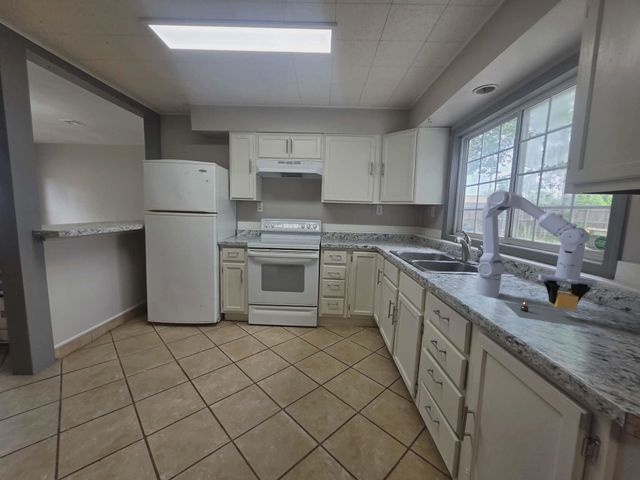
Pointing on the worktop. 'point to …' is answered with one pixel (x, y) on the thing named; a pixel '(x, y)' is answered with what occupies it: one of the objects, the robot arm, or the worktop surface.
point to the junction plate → (545, 315)
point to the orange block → (566, 300)
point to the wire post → (524, 307)
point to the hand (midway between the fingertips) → (562, 304)
